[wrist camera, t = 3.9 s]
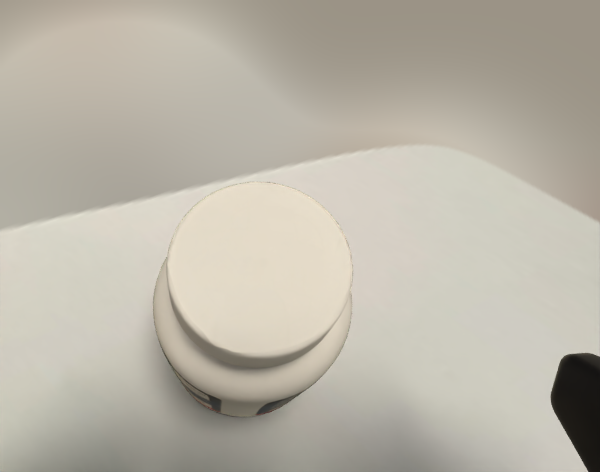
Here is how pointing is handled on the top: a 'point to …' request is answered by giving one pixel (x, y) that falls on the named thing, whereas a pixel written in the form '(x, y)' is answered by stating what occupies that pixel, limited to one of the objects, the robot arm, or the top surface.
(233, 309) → the pill bottle
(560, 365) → the robot arm
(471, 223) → the top surface
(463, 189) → the top surface
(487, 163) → the top surface
